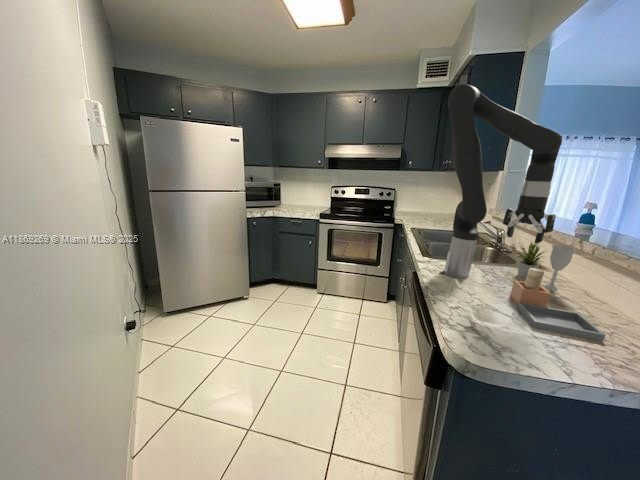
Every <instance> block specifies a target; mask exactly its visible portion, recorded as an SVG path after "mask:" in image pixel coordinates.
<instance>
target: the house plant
mask: <svg viewBox="0 0 640 480" xmlns="http://www.w3.org/2000/svg"><path fill="white" fill-rule="evenodd" d="M517 247H519V248H520V249H521V251H518V250H515V249H514V251H515V253H513V255H519V256H518V257H517V259H518V258H520V259H521V260H518V266H517V268H518V269H517V276H519V277H522V278H525V279H526V277H527V274H528V271H529V268H535V269H539V264H538V263H541V262H542V263H544V261H541V258H544V255H543V256H541V255H542V254H544V253H546V252H547V250H545V251H541V252H540V253H539V251H540V248H541V247H540V245H539V243H538V244H537V243H535V242H534V243H533V241H530V244H529V246H528V250H526V249H525V246H524V245H523V244H522V243H521V242H519V244H517ZM527 251H528V252H527Z"/></svg>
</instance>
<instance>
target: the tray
mask: <svg viewBox="0 0 640 480" xmlns="http://www.w3.org/2000/svg"><path fill="white" fill-rule="evenodd" d="M516 305H517V306H516V309H517V310H518V311H519V312H520V313H521V315H522V316H523V318H524V319H525V320H526V321H527V322H528V323H529V325H530V326H531V327H532V328H534V329H537V330H543V331H548V332H554V333H556V334H557V333H558V334H563V335H567V336H572V337H577V338H583V339H587V340H591V341H592V340H593V341H598V342H604V340H605V337H606V334H605V333H604V332H603V331H601V330H600V329H599V328H598V327H597V326H595V325H594V324H593V323H592V322H591V321H589V320H588V319H587V318H585V316H583V315H582V314H581V313H579V312H577V311H572V310H571V311H570V310H564V309H559V308H553V307H547V306H546V307H543V306H537V305H531V304H526V303H520V302H518V304H516Z"/></svg>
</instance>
